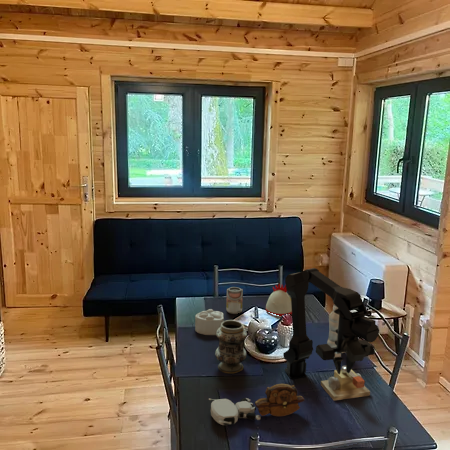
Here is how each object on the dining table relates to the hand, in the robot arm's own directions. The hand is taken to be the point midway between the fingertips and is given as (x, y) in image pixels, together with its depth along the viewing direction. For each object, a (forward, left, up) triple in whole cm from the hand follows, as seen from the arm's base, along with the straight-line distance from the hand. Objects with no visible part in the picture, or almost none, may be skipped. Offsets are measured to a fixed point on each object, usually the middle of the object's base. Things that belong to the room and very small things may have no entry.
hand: (343, 373), depth 146 cm
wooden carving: (-22, 0, -12) cm, 25 cm away
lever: (+6, +4, -5) cm, 9 cm away
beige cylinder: (-14, +84, -12) cm, 86 cm away
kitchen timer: (+9, +80, -12) cm, 81 cm away
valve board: (+6, +8, -12) cm, 16 cm away
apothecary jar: (-30, +32, -12) cm, 45 cm away
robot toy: (-37, +2, -12) cm, 39 cm away
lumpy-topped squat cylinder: (-31, +66, -12) cm, 74 cm away
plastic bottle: (+17, +36, -12) cm, 42 cm away
